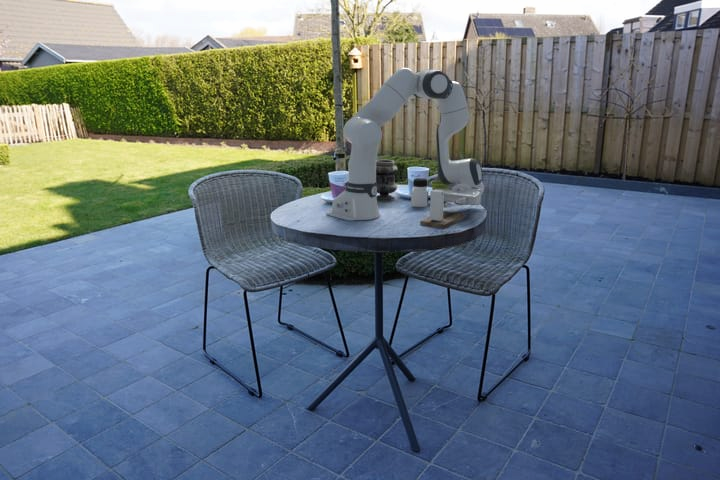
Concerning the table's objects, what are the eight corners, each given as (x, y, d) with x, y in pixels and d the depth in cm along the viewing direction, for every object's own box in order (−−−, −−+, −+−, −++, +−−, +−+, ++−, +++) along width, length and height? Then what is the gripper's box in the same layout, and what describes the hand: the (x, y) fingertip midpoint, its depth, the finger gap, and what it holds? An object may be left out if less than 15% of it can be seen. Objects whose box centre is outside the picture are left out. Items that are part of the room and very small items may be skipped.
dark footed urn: (397, 201, 228) (397, 162, 222) (370, 201, 229) (370, 162, 223) (397, 196, 239) (397, 158, 234) (372, 196, 240) (372, 158, 235)
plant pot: (450, 204, 223) (451, 184, 221) (429, 203, 225) (429, 184, 222) (450, 199, 232) (451, 181, 229) (430, 198, 234) (431, 180, 231)
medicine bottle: (427, 207, 217) (428, 180, 214) (411, 206, 219) (411, 179, 215) (428, 203, 224) (428, 177, 221) (412, 203, 225) (412, 176, 222)
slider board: (420, 224, 190) (420, 220, 190) (442, 214, 205) (442, 210, 205) (444, 228, 185) (444, 224, 184) (465, 217, 200) (465, 213, 199)
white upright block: (429, 219, 190) (430, 190, 186) (433, 217, 192) (434, 189, 189) (439, 220, 187) (440, 192, 184) (443, 219, 190) (444, 190, 186)
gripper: (439, 184, 210) (423, 189, 199) (485, 189, 199) (471, 195, 188) (438, 198, 212) (422, 204, 201) (484, 204, 201) (470, 211, 190)
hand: (446, 200), depth 194 cm, fingers open, 8 cm apart
